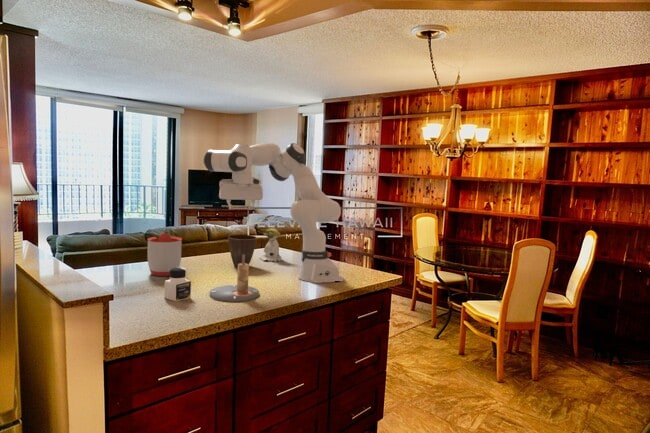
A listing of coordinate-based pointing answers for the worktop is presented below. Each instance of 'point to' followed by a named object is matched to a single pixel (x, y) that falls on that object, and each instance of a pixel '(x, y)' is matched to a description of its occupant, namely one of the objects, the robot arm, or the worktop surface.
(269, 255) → the green headed figurine
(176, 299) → the medicine bottle
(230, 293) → the dial plate
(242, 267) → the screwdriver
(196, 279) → the worktop surface
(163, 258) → the citrus juicer
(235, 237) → the plant pot
